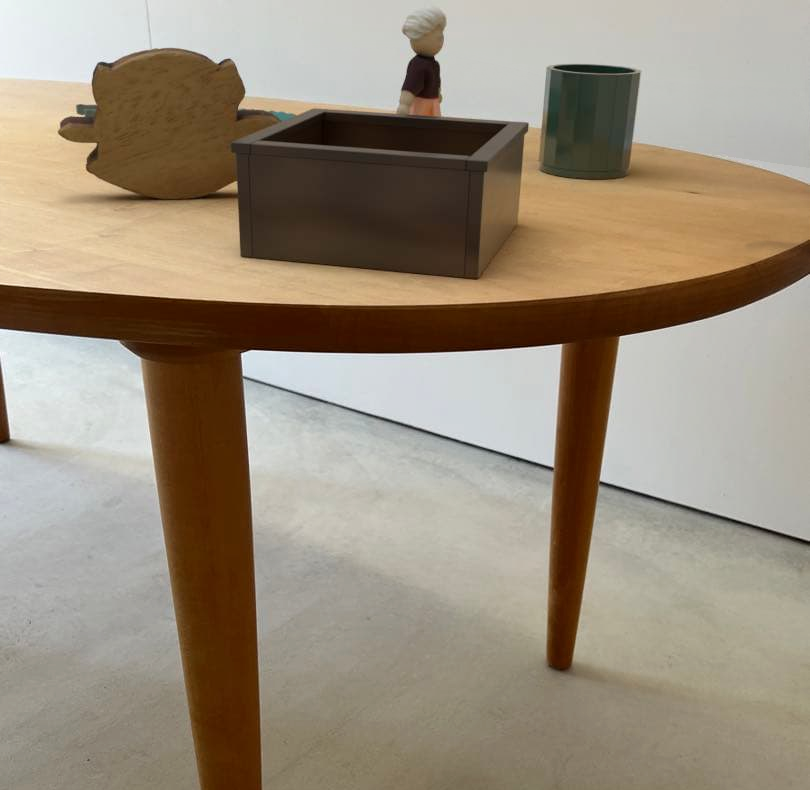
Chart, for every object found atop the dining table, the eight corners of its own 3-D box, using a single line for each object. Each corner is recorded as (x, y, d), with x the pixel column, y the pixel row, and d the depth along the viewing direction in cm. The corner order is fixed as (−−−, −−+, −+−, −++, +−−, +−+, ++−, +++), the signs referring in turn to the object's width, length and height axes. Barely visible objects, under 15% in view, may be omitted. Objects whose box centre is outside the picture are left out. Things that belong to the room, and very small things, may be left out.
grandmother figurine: (437, 192, 85) (445, 8, 79) (388, 188, 85) (392, 6, 79) (452, 173, 91) (460, 3, 85) (406, 170, 92) (411, 1, 86)
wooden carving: (284, 185, 85) (280, 44, 81) (299, 198, 82) (296, 50, 77) (63, 194, 81) (45, 44, 76) (67, 208, 77) (49, 51, 72)
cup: (631, 165, 97) (644, 66, 93) (625, 182, 90) (637, 76, 87) (545, 159, 98) (553, 61, 95) (532, 175, 92) (541, 70, 88)
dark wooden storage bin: (521, 223, 76) (528, 122, 73) (480, 280, 64) (487, 161, 61) (314, 205, 80) (312, 108, 76) (235, 256, 67) (230, 142, 64)
